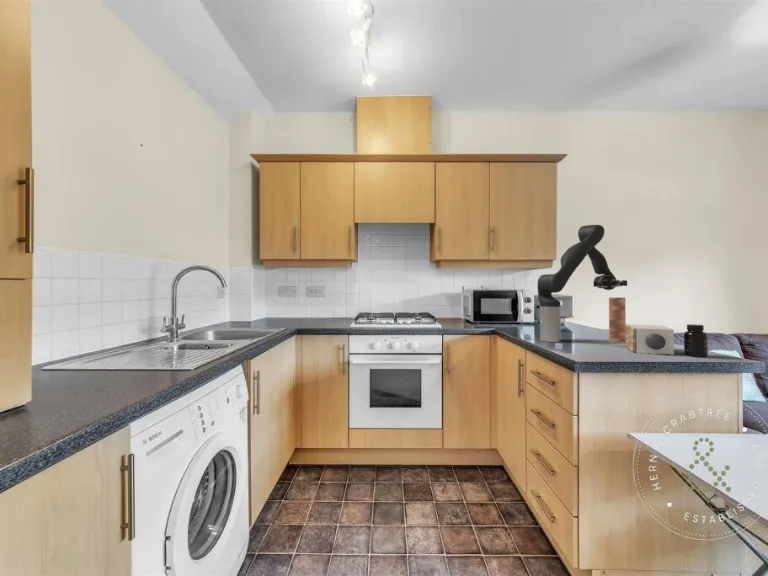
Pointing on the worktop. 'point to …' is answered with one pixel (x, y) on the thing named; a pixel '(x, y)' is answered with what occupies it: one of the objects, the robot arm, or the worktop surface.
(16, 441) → the worktop surface
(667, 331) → the housing
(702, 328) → the supplement bottle
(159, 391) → the worktop surface
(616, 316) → the wooden block
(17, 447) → the worktop surface
